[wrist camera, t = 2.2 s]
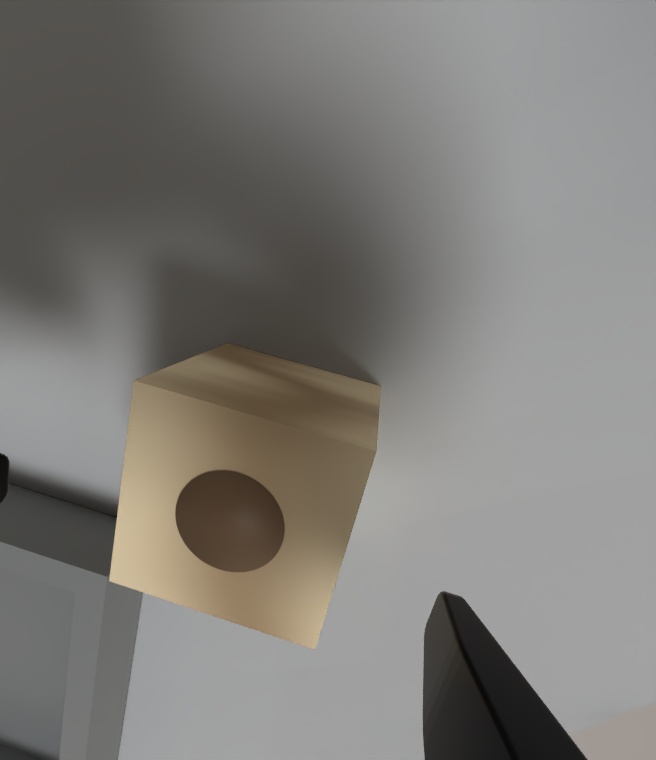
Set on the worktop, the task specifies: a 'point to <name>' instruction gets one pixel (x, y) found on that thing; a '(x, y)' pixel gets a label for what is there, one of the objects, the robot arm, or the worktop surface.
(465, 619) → the robot arm
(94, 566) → the tray
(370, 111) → the worktop surface
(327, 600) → the maple block
